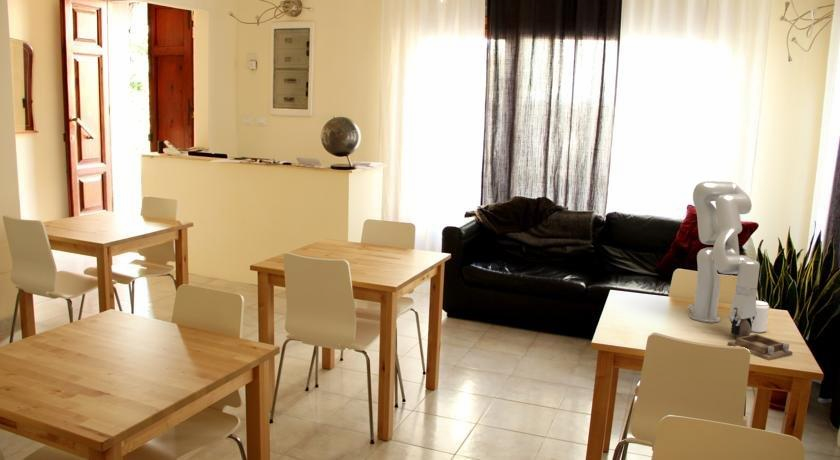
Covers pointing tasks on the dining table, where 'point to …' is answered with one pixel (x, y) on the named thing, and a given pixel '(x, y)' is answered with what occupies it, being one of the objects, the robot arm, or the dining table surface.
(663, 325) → the dining table surface
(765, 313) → the beverage can
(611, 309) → the dining table surface
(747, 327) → the vase
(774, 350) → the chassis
